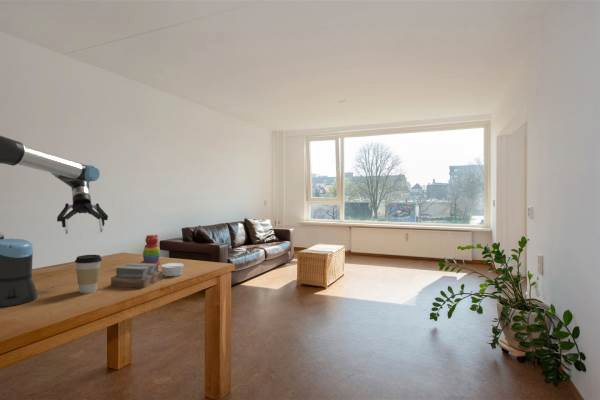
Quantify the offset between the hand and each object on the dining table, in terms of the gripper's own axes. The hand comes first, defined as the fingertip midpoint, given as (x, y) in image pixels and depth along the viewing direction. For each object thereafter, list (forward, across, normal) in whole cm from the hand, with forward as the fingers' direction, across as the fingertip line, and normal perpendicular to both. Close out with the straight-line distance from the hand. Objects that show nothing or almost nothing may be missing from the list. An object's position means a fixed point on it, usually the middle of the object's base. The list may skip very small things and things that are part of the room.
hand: (84, 231), depth 154 cm
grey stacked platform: (+25, -21, -10) cm, 34 cm away
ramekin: (+20, -39, -15) cm, 47 cm away
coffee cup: (+27, 0, -8) cm, 28 cm away
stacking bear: (-2, -36, -37) cm, 52 cm away
